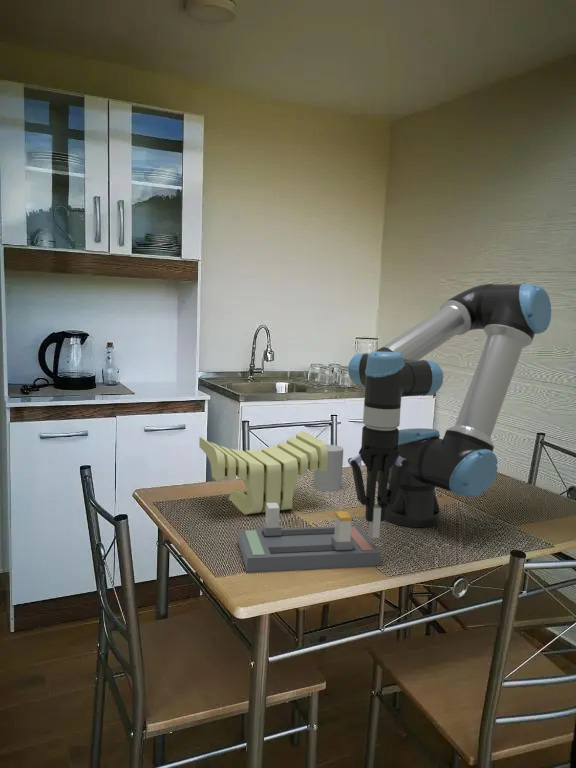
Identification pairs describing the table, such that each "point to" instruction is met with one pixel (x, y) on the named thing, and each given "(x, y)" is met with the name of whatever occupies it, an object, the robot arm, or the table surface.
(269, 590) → the table surface
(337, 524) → the handle
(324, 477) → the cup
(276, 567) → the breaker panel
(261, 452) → the slatted curved stool
